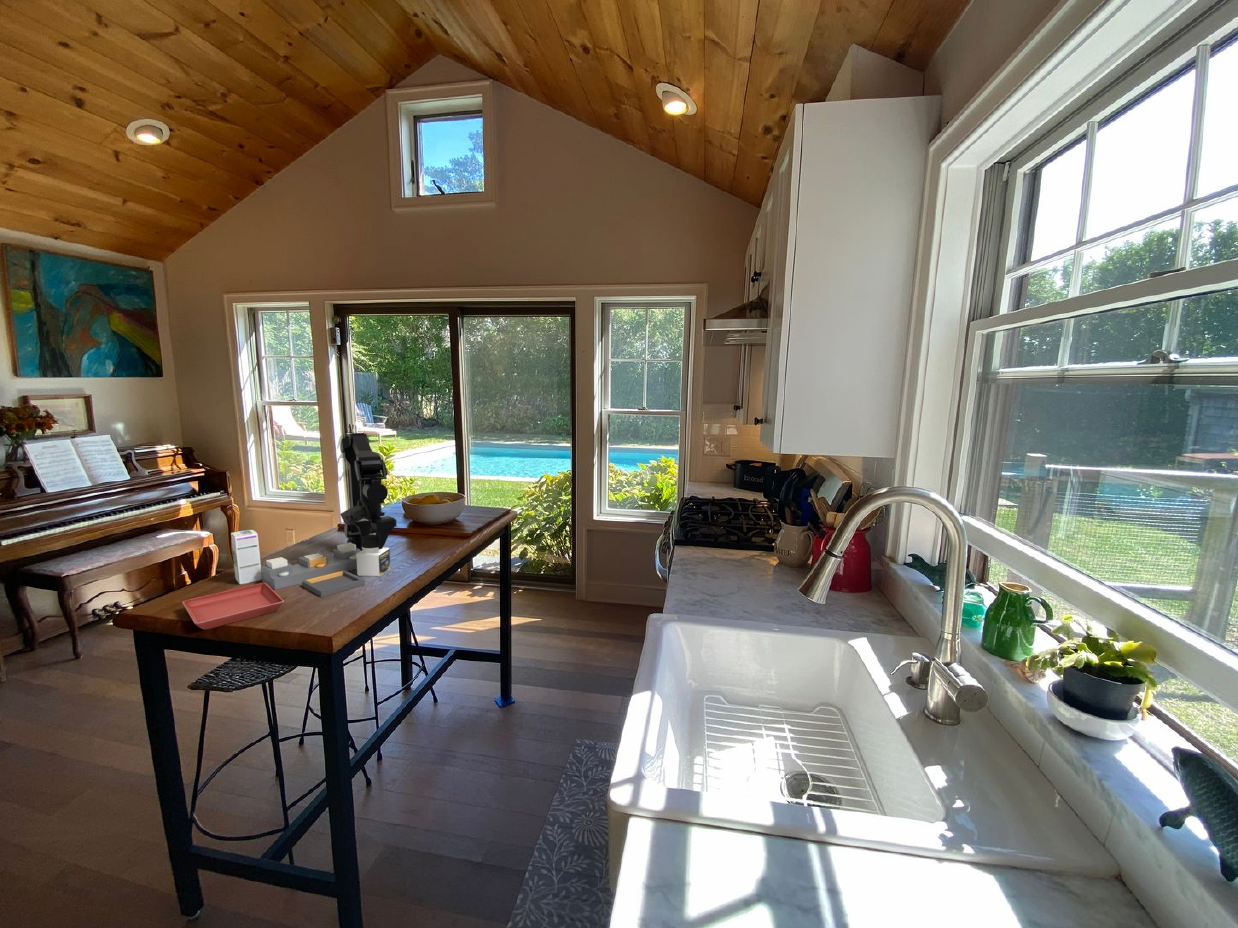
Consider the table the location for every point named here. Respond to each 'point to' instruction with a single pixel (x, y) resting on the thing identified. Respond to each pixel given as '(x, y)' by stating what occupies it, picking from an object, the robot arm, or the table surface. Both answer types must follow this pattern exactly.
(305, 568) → the grey slotted tray
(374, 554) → the medicine bottle
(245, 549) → the syrup box
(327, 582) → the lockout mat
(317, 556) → the block
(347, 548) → the breaker
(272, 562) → the breaker
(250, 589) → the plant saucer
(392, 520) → the robot arm
